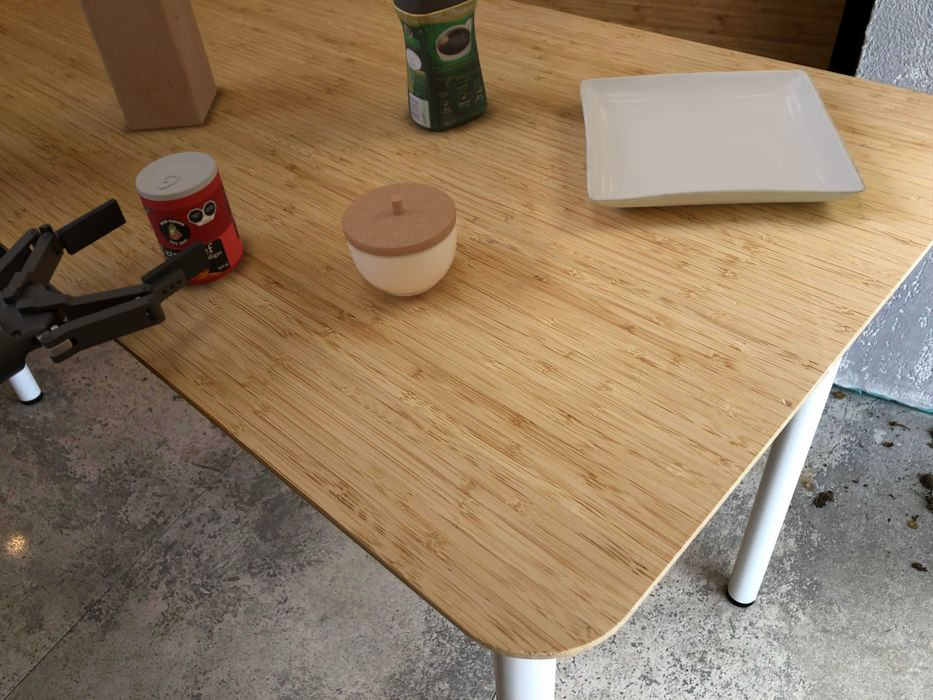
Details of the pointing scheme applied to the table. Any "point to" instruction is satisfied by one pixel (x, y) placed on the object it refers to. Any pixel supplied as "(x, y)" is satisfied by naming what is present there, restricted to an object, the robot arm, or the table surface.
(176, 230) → the canned food
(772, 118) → the square plate
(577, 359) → the table surface
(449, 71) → the coffee jar
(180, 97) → the wooden block
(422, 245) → the trinket box
